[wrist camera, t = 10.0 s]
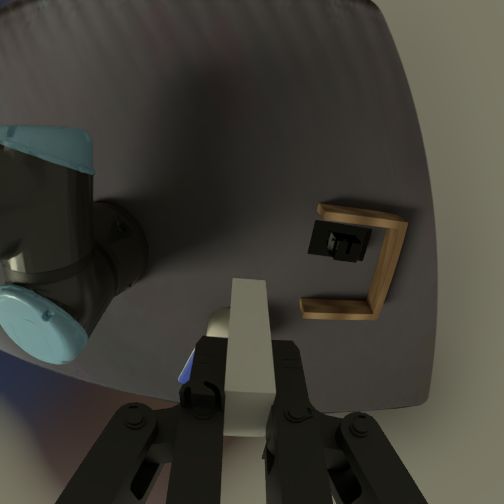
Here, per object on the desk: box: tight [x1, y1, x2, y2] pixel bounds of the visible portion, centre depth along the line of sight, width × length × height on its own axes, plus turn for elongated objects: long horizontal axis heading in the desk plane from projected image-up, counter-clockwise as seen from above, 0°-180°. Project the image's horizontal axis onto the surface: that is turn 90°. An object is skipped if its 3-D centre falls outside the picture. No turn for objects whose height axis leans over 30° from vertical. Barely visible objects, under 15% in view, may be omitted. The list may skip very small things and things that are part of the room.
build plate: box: [308, 220, 372, 263], centre depth 44 cm, size 12×7×5 cm, turn 82°
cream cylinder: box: [206, 308, 230, 338], centre depth 48 cm, size 7×7×8 cm
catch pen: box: [299, 203, 408, 320], centre depth 45 cm, size 13×17×4 cm
